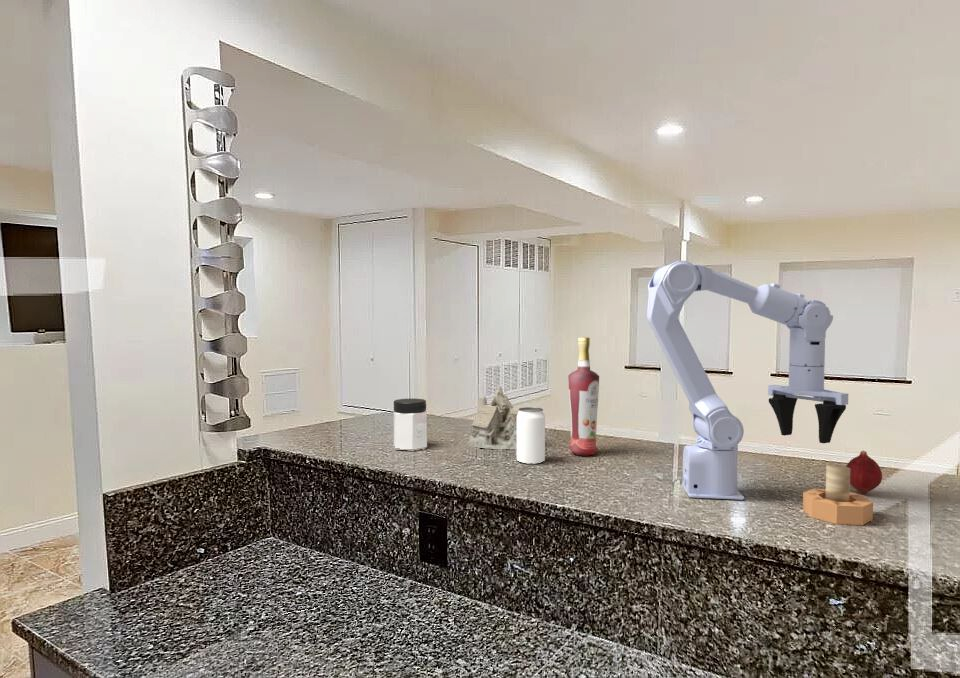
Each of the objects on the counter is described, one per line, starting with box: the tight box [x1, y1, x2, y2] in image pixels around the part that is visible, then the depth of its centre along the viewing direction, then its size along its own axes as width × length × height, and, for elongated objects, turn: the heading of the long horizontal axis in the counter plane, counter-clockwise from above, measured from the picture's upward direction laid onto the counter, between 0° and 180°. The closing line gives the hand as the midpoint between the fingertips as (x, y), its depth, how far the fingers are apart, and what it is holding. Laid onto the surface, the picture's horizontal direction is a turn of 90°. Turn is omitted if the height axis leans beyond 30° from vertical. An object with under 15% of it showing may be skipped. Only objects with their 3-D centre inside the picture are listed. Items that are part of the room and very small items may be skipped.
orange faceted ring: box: [802, 488, 874, 526], centre depth 98 cm, size 9×9×3 cm
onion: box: [845, 450, 883, 495], centre depth 109 cm, size 6×6×8 cm
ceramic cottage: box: [467, 386, 519, 449], centre depth 151 cm, size 16×16×15 cm
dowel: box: [825, 464, 851, 502], centre depth 98 cm, size 3×3×8 cm
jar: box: [392, 398, 428, 449], centre depth 148 cm, size 9×8×12 cm
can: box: [516, 406, 546, 464], centre depth 134 cm, size 6×6×12 cm
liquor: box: [567, 336, 600, 457], centre depth 141 cm, size 7×7×28 cm
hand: (805, 438), depth 109 cm, fingers open, 7 cm apart
